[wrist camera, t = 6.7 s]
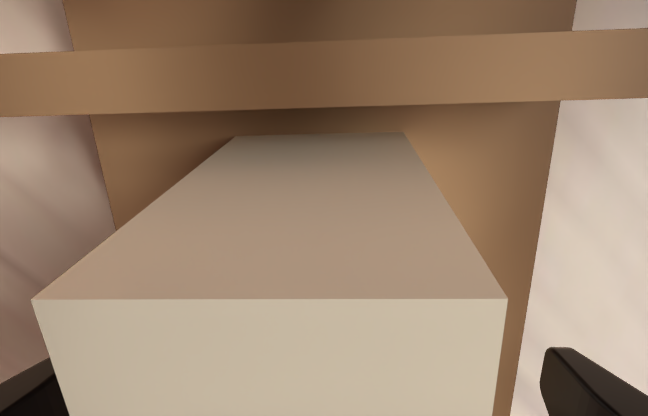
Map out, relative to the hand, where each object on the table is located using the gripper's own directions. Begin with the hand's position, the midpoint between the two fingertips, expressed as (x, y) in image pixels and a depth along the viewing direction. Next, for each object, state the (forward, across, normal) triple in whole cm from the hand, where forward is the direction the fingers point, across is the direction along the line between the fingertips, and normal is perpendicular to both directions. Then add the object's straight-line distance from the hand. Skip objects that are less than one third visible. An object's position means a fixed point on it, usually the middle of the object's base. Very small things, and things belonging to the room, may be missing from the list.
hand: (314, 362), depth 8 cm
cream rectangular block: (+3, 0, 0) cm, 3 cm away
